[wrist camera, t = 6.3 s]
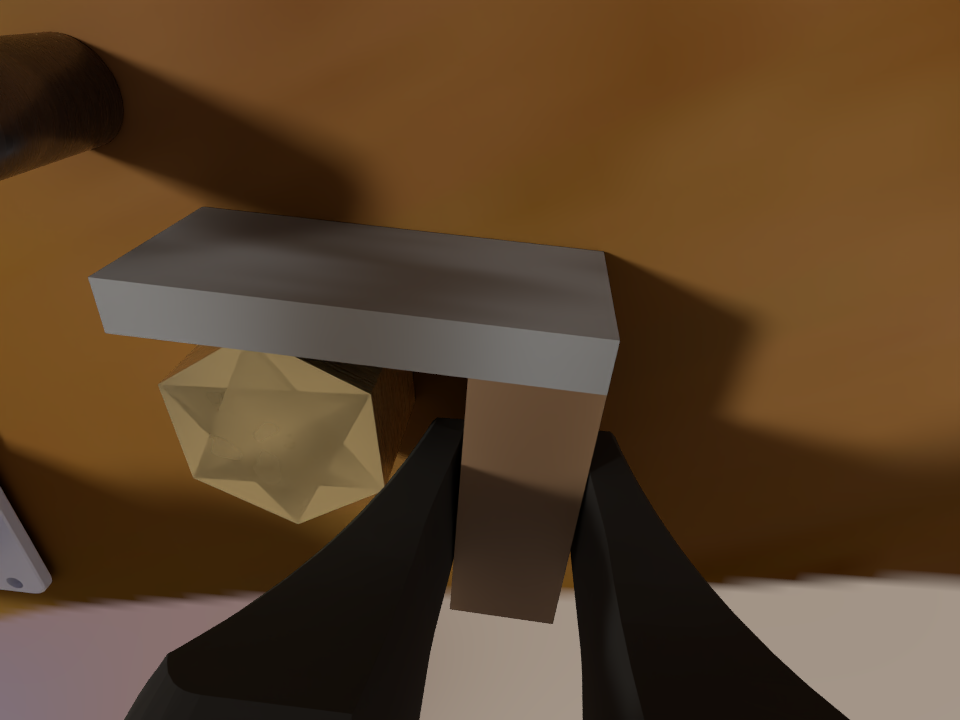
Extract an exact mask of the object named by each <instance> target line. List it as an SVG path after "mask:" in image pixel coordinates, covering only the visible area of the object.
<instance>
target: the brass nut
mask: <svg viewBox="0 0 960 720" xmlns="http://www.w3.org/2000/svg"><path fill="white" fill-rule="evenodd" d="M158 386H159V389H160V391H161V394H162V396H163V399H164V402H165V404H166V407H167V410H168V412H169V415H170V418H171V420H172V423H173V426H174V428H175V431H176V433H177V436H178V439H179V441H180V444H181V447H182V449H183V452H184V455H185V457H186V460H187V462H188V465H189V468H190V470H191V473H192V476H193V478H195V479H197V480H199V481H202V482H204V483H206V484H208V485H211V486H213V487H215V488H217V489H220V490H222V491H224V492H227V493H229V494H231V495H233V496H236V497H238V498H240V499H242V500H245V501H247V502H249V503H251V504H254V505H256V506H258V507H261V508H263V509H265V510H267V511H270V512H272V513H274V514H276V515H279V516H281V517H283V518H285V519H288V520H290V521H292V522H295V523H297V524H300V523H302V522H305V521H307V520H310V519H312V518H315V517H318V516H320V515H323V514H325V513H328V512H330V511H333V510H335V509H338V508H340V507H343V506H346V505H348V504H351V503H353V502H356V501H358V500H361V499H363V498H366V497H369V496H371V495H374V494H376V493H379V492H380V491H381V489H382V488H383V487H384V486H385V485H386V484H387V482H388V479H389V476H390V474H391V471H392V468H393V465H394V462H395V459H396V456H397V453H398V450H399V447H400V444H401V441H402V438H403V435H404V432H405V430H406V427H407V424H408V421H409V418H410V415H411V412H412V409H413V406H414V403H415V390H414V380H413V371H407V370H399V369H391V368H383V367H375V366H367V365H359V364H351V363H343V362H335V361H327V360H319V359H311V358H303V357H295V356H287V355H278V354H270V353H262V352H254V351H246V350H238V349H230V348H222V347H214V346H206V345H197V346H196V347H195V348H194V349H193V350H192V351H191V352H190V353H189V354H188V355H187V356H186V357H185V358H184V359H183V360H182V361H181V362H180V363H179V364H178V365H177V366H176V367H175V368H174V369H173V370H172V371H171V372H170V373H169V374H168V375H167V376H166V377H165V378H164V379H163V380H162V381H161V382H160V383H159V384H158Z"/></svg>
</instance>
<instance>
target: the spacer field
mask: <svg viewBox="0 0 960 720" xmlns="http://www.w3.org/2000/svg"><path fill="white" fill-rule="evenodd" d="M122 120H123V103H122V98H121V94H120V91H119V88H118V85H117V83H116V81H115V79H114V77H113V75H112V74H111V72H110V70H109V69H108V67H107V66H106V65H105V63H104V62H103V61H102V60H101V59H100V57H99V56H98V55H97V54H96V53H95V52H94V51H92V50H91V49H90V48H89V47H88V46H86V45H85V44H83V43H82V42H80V41H78V40H77V39H75V38H73V37H70V36H68V35H65V34H62V33H57V32H41V33H29V34H17V35H5V36H0V180H3V179H6V178H9V177H12V176H15V175H18V174H21V173H24V172H27V171H30V170H32V169H35V168H38V167H41V166H44V165H47V164H50V163H53V162H56V161H59V160H61V159H64V158H67V157H70V156H73V155H76V154H79V153H82V152H85V151H88V150H91V149H93V148H96V147H99V146H102V145H105V144H107V143H108V142H110V141H111V140H112V139H113V138H114V137H115V136H116V135H117V134H118V132H119V130H120V127H121V124H122Z"/></svg>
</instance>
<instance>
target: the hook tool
mask: <svg viewBox="0 0 960 720" xmlns="http://www.w3.org/2000/svg"><path fill="white" fill-rule="evenodd" d="M88 278H89V282H90V285H91V288H92V291H93V294H94V298H95V301H96V304H97V307H98V311H99V314H100V317H101V320H102V323H103V327H104V330H105V333H110V334H118V335H126V336H134V337H142V338H150V339H158V340H166V341H174V342H182V343H190V344H198V345H206V346H214V347H222V348H230V349H238V350H246V351H254V352H262V353H270V354H278V355H287V356H295V357H303V358H311V359H319V360H327V361H335V362H343V363H351V364H359V365H367V366H375V367H383V368H391V369H399V370H407V371H415V372H423V373H431V374H439V375H447V376H455V377H463V378H468V384H467V397H466V409H465V422H464V435H463V448H462V461H461V474H460V486H459V499H458V512H457V525H456V538H455V551H454V564H453V576H452V589H451V603H450V609H452V610H459V611H466V612H474V613H481V614H487V615H494V616H501V617H508V618H515V619H521V620H528V621H535V622H542V623H549V624H553V621H554V616H555V612H556V608H557V603H558V600H559V595H560V591H561V587H562V583H563V579H564V574H565V570H566V566H567V562H568V557H569V553H570V549H571V545H572V541H573V536H574V532H575V528H576V524H577V519H578V515H579V511H580V507H581V503H582V498H583V494H584V490H585V486H586V482H587V477H588V473H589V469H590V465H591V460H592V456H593V452H594V448H595V444H596V439H597V435H598V431H599V427H600V423H601V418H602V414H603V410H604V406H605V401H606V397H607V393H608V389H609V385H610V380H611V376H612V372H613V368H614V363H615V359H616V355H617V351H618V347H619V342H620V339H619V333H618V328H617V322H616V317H615V311H614V305H613V300H612V294H611V289H610V283H609V278H608V272H607V267H606V261H605V256H604V252H602V251H593V250H584V249H575V248H567V247H558V246H549V245H540V244H531V243H522V242H513V241H504V240H495V239H486V238H477V237H468V236H459V235H450V234H442V233H433V232H424V231H415V230H406V229H397V228H388V227H379V226H370V225H361V224H352V223H343V222H334V221H326V220H317V219H308V218H299V217H290V216H281V215H272V214H263V213H254V212H245V211H236V210H227V209H218V208H209V207H201V208H199V209H198V210H196V211H195V212H193V213H191V214H190V215H188V216H187V217H185V218H183V219H182V220H180V221H178V222H177V223H175V224H174V225H172V226H170V227H169V228H167V229H165V230H164V231H162V232H161V233H159V234H157V235H156V236H154V237H152V238H151V239H149V240H148V241H146V242H144V243H143V244H141V245H139V246H138V247H136V248H135V249H133V250H131V251H130V252H128V253H126V254H125V255H123V256H122V257H120V258H118V259H117V260H115V261H113V262H112V263H110V264H109V265H107V266H105V267H104V268H102V269H101V270H99V271H97V272H96V273H94V274H92V275H91V276H89V277H88Z"/></svg>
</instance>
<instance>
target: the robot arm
mask: <svg viewBox="0 0 960 720" xmlns="http://www.w3.org/2000/svg"><path fill="white" fill-rule="evenodd" d="M464 422H465V420H463V419H450V418H436V419H435V420H434V421H432V423H431V425H430V426H429V428H428V429H427V431H426V433H425V434H424V436H423V437H422V438H421V440H420V441H419V443H418V444H417V446H416V447H415V448H414V450H413V451H412V452H411V454H410V455H409V456H408V458H407V459H406V460H405V462H404V463H403V464H402V465H401V467H400V468H399V469H398V470H397V472H396V473H395V474H394V475H393V476H392V478H391V479H390V480H389V481H388V483H387V484H386V485H385V486H384V487H383V488H382V489H381V491H380V492H379V493H378V494H377V495H376V496H375V497H374V498H373V499H372V500H371V501H370V503H369V504H368V505H367V506H366V507H365V508H364V509H363V510H362V511H361V512H360V513H359V514H358V515H357V516H356V517H355V518H354V519H353V520H352V521H351V522H350V523H349V524H348V525H347V526H346V527H345V528H344V529H343V530H342V531H341V532H340V533H339V534H338V535H337V536H336V537H335V538H333V539H332V540H331V541H330V542H329V543H328V544H327V545H326V546H325V547H323V548H322V549H321V550H320V551H319V552H318V553H316V554H315V555H314V556H313V557H312V558H310V559H309V560H308V561H307V562H306V563H304V564H303V565H302V566H301V567H300V568H298V569H297V570H296V571H294V572H293V573H292V574H291V575H289V576H288V577H287V578H285V579H284V580H283V581H281V582H280V583H279V584H277V585H276V586H274V587H273V588H272V589H270V590H269V591H267V592H266V593H264V594H263V595H262V596H260V597H259V598H257V599H256V600H254V601H253V602H252V603H250V604H249V605H248V606H246V607H245V608H243V609H242V610H240V611H239V612H237V613H236V614H234V615H233V616H231V617H229V618H228V619H227V620H225V621H223V622H221V623H220V624H218V625H216V626H215V627H213V628H211V629H210V630H208V631H206V632H205V633H203V634H201V635H200V636H198V637H196V638H194V639H193V640H191V641H189V642H188V643H186V644H184V645H183V646H181V647H179V648H177V649H176V650H174V651H172V652H170V653H168V654H167V655H166V657H165V658H164V660H163V661H162V663H161V664H160V666H159V667H158V668H157V670H156V671H155V672H154V674H153V675H152V676H151V678H150V679H149V680H148V682H147V683H146V685H145V686H144V688H143V689H142V691H141V692H140V694H139V695H138V697H137V699H136V700H135V702H134V704H133V705H132V707H131V709H130V711H129V712H128V714H127V716H126V717H125V719H124V720H419V718H420V711H421V705H422V699H423V693H424V686H425V680H426V674H427V668H428V662H429V655H430V651H431V646H432V642H433V637H434V632H435V628H436V625H437V621H438V616H439V613H440V609H441V605H442V601H443V598H444V594H445V590H446V586H447V582H448V578H449V574H450V571H451V567H452V563H453V559H454V551H455V538H456V525H457V512H458V499H459V486H460V474H461V461H462V448H463V435H464ZM570 552H571V562H572V572H573V582H574V591H575V600H576V610H577V619H578V629H579V637H580V647H581V661H582V694H583V695H582V700H583V720H849V719H848V718H847V717H846V716H845V715H843V714H842V713H841V712H840V711H838V710H837V709H836V708H835V707H834V706H832V705H831V704H830V703H829V702H828V701H826V700H825V699H824V698H823V697H822V696H820V695H819V694H818V693H817V692H815V691H814V690H813V689H812V688H811V687H809V686H808V685H807V684H806V683H805V682H804V681H803V680H802V679H801V678H799V677H798V676H797V675H796V674H795V673H794V672H793V671H792V670H791V669H790V668H789V667H788V666H786V665H785V664H784V663H783V662H782V661H781V660H780V659H779V658H778V657H777V656H775V655H774V654H773V653H772V652H771V651H770V650H769V649H768V648H767V647H766V645H765V644H764V643H762V641H761V640H760V639H759V638H758V637H757V636H756V635H755V634H754V633H753V632H752V631H751V630H750V629H749V628H748V627H747V626H746V625H745V624H744V623H743V622H742V621H741V620H740V619H739V618H738V617H737V616H736V615H735V614H734V613H733V612H732V611H731V609H729V607H728V606H727V605H726V604H725V603H724V602H723V600H722V599H721V598H720V597H719V596H718V595H717V593H716V592H715V591H714V590H713V589H712V588H711V587H710V585H709V584H708V583H707V582H706V580H705V579H704V578H703V577H702V576H701V574H700V573H699V572H698V571H697V569H696V568H695V567H694V566H693V564H692V563H691V562H690V560H689V559H688V558H687V557H686V555H685V554H684V552H683V551H682V550H681V548H680V547H679V546H678V544H677V543H676V541H675V540H674V539H673V537H672V536H671V534H670V533H669V531H668V530H667V529H666V527H665V526H664V524H663V523H662V521H661V520H660V518H659V516H658V515H657V513H656V512H655V510H654V509H653V507H652V505H651V504H650V502H649V500H648V499H647V497H646V496H645V494H644V492H643V491H642V489H641V487H640V485H639V484H638V482H637V480H636V478H635V477H634V475H633V473H632V471H631V469H630V467H629V465H628V463H627V461H626V460H625V458H624V456H623V453H622V451H621V449H620V447H619V445H618V443H617V440H616V438H615V436H614V435H613V434H612V433H611V432H607V431H598V435H597V439H596V444H595V448H594V452H593V456H592V460H591V465H590V469H589V473H588V477H587V482H586V486H585V490H584V494H583V498H582V503H581V507H580V511H579V515H578V519H577V524H576V528H575V532H574V536H573V541H572V545H571V549H570ZM51 583H52V578H51V575H50V573H49V571H48V570H47V568H46V566H45V564H44V563H43V561H42V559H41V557H40V555H39V554H38V552H37V550H36V548H35V547H34V545H33V543H32V541H31V540H30V538H29V536H28V534H27V532H26V531H25V529H24V527H23V525H22V524H21V522H20V520H19V518H18V517H17V515H16V513H15V511H14V510H13V508H12V506H11V504H10V502H9V501H8V499H7V497H6V495H5V494H4V492H3V490H2V488H1V487H0V589H1V590H10V591H18V592H27V593H42V592H44V591H45V590H46V589H47V588H48V587H49V585H50V584H51Z"/></svg>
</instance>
